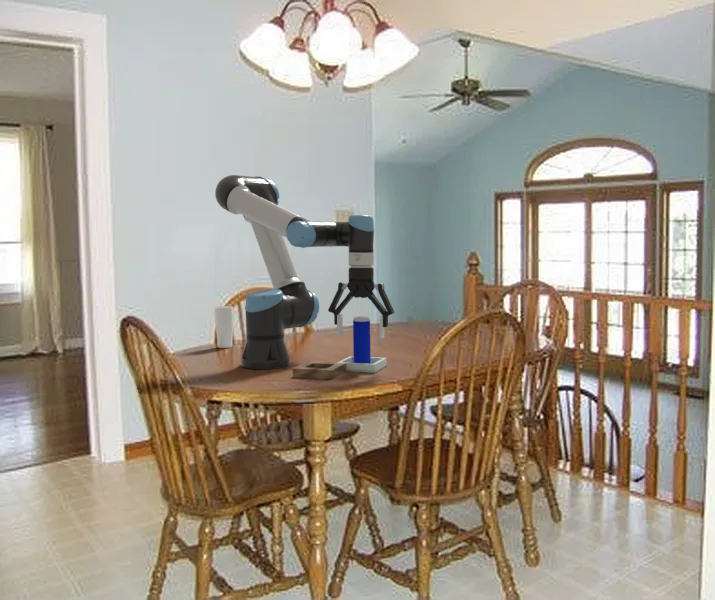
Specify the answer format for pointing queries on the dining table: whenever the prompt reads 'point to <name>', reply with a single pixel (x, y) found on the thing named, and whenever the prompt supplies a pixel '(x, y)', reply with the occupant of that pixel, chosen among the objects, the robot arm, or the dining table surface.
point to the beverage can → (361, 340)
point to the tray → (364, 365)
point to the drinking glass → (224, 326)
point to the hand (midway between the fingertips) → (360, 336)
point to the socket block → (319, 370)
